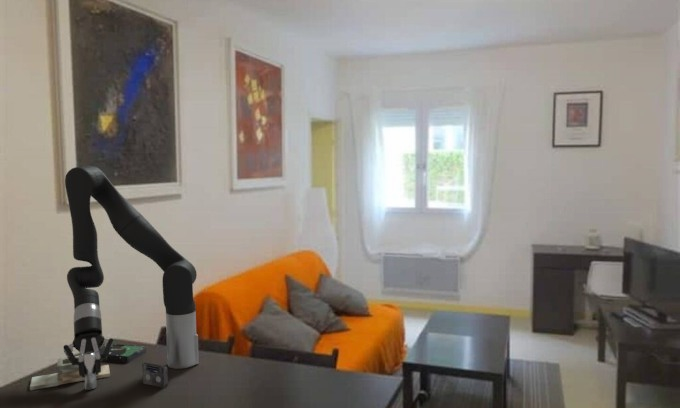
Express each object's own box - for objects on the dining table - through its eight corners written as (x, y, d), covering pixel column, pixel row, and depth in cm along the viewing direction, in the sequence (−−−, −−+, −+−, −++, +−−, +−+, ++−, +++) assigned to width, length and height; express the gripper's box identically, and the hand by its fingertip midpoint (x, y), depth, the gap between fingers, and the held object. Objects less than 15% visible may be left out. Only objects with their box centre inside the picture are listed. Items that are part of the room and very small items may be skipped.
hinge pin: (96, 384, 150) (94, 351, 149) (96, 388, 147) (95, 354, 146) (84, 386, 148) (83, 352, 148) (85, 390, 146) (83, 356, 145)
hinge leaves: (108, 367, 164) (108, 350, 163) (110, 376, 156) (109, 358, 156) (32, 380, 154) (31, 362, 154) (30, 390, 147) (29, 371, 147)
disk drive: (89, 362, 171) (128, 364, 168) (88, 353, 170) (128, 355, 167) (109, 351, 181) (146, 353, 178) (108, 343, 181) (146, 345, 178)
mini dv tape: (167, 386, 149) (167, 366, 149) (164, 388, 148) (163, 367, 147) (146, 381, 152) (146, 361, 152) (143, 383, 151) (142, 363, 151)
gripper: (60, 318, 150) (61, 374, 140) (113, 312, 156) (117, 364, 146) (62, 331, 155) (63, 385, 145) (112, 324, 161) (116, 376, 151)
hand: (90, 374), depth 146 cm, fingers closed on hinge pin, 3 cm apart
